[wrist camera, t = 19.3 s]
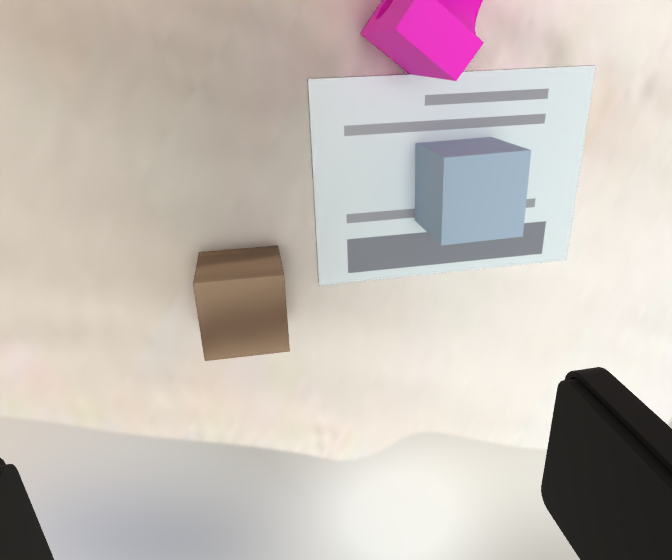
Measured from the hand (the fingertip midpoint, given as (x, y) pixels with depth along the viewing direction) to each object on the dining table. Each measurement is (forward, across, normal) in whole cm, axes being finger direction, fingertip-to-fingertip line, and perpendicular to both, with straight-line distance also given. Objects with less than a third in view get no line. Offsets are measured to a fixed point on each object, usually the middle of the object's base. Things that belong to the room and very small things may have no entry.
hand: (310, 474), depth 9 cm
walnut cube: (+25, +2, +8) cm, 26 cm away
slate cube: (+25, -12, +2) cm, 28 cm away
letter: (+25, -12, +2) cm, 28 cm away
